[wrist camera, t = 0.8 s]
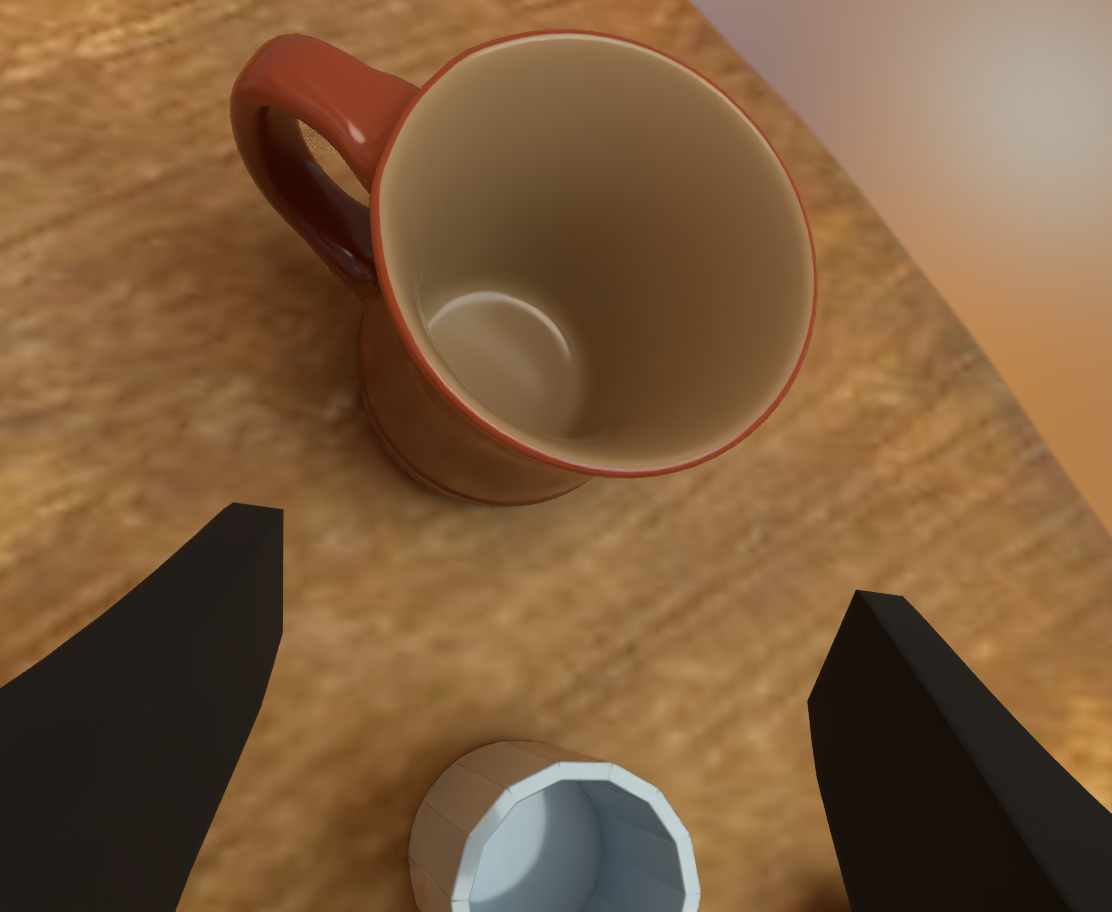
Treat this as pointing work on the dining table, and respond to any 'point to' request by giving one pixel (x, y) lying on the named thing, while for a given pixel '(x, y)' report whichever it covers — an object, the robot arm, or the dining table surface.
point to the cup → (548, 837)
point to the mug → (543, 254)
